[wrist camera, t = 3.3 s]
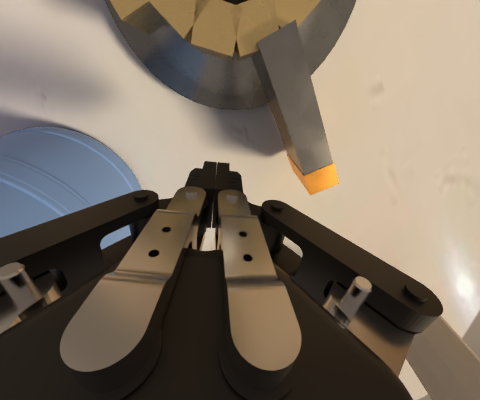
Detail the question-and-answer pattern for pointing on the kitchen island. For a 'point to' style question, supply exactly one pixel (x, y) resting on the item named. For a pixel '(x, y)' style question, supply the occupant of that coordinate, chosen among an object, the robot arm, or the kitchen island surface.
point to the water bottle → (445, 363)
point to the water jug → (57, 178)
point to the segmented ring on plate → (265, 60)
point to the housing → (222, 71)
